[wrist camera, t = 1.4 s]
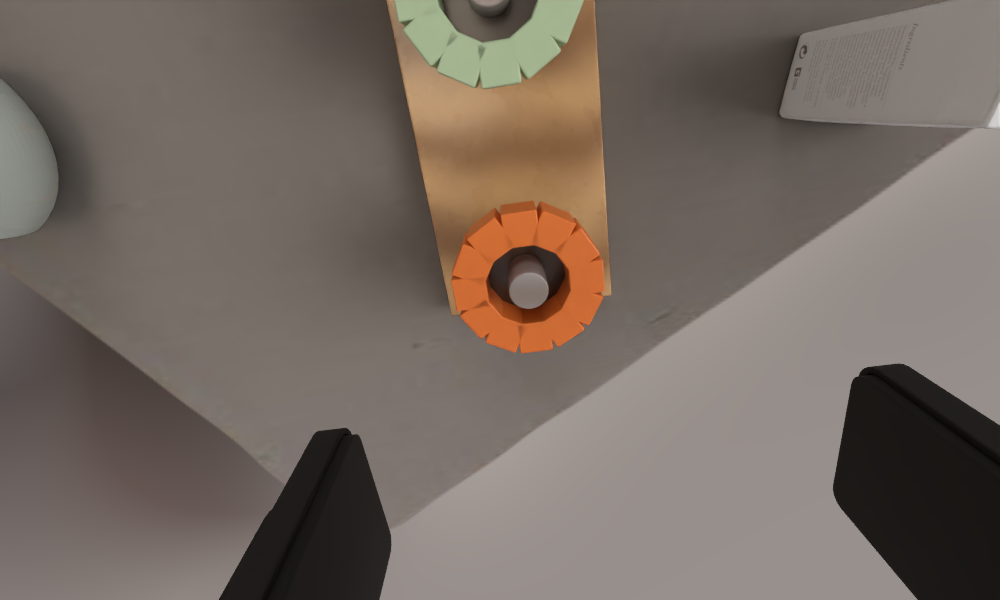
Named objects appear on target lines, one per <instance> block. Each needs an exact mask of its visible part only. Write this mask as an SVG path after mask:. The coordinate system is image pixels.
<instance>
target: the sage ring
mask: <svg viewBox="0 0 1000 600" xmlns="http://www.w3.org/2000/svg"><path fill="white" fill-rule="evenodd" d="M583 2H584V0H537V2H536V5H535V8H534V10H533V13H532V16H531V19H530V20H528V21H527V22H526V23H525V24H524V25H523V26H522V27H521V28H520V29H518V30H517V31H516V32H515V33H514V34H513V35H512V36H511V37H509V38H506V39H500V40H494V41H488V42H480V41H478V40H476V39H474V38H471V37H469V36H467V35H465V34H462V33H460V32H458V31H457V30H456V29H455V28H454V26H453V25H452V23H451V22H450V21H449V19H448V18H447V16H446V15H445V13H444V7H443V1H442V0H394V3H395V8H396V13H397V18H398V21H399V22H400V23H401V24H403V25H404V26H406V27H405V28H404V29H403V32H404V33H405V35H406V36H407V37H408V39H409V40H410V41H411V43H412V44H413V45H414V47H415V48H416V49H417V51H418V52H419V53H420V54H421V56H422V57H423V58H424V60H425V61H426V62H427V64H428V65H429V66H431V67H434V68H437V72H438V73H440V74H442V75H444V76H447V77H449V78H451V79H454V80H456V81H458V82H461V83H463V84H465V85H468V86H470V87H472V88H477V87H478V85H479V82H481V87H482V89H491V88H497V87H503V86H509V85H516V84H519V83H521V81H522V79H521V74H522V76H523V77H524V79H526V80H528V79H530V78H531V77H532V76H533V75H535V74H536V73H537V72H538V71H539V70H540V69H542V68H543V67H544V66H545V65H546V64H547V63H549V62H550V61H551V60H552V59H553V58H554V57H556V56H557V55H558V54H559V53H560V52H561V49H560V48H561V47H562V46H564V45H565V44H566V43H567V42H568V39H569V37H570V34H571V32H572V29H573V27H574V24H575V22H576V19H577V17H578V15H579V12H580V10H581V7H582V5H583Z"/></svg>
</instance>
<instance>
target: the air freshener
mask: <svg viewBox="0 0 1000 600" xmlns="http://www.w3.org/2000/svg"><path fill="white" fill-rule="evenodd" d="M58 180H59V175H58V168H57V161H56V158H55V154H54V151H53V148H52V145H51V143H50V141H49V139H48V136H47V134H46V132H45V130H44V129H43V127H42V125H41V124H40V122H39V120H38V119H37V117H36V116H35V114H34V113H33V112H32V111H31V109H30V108H29V107H28V106H27V104H26V103H25V102H24V101H23V100H22V98H21V97H20V96H19V95H18V94H17V93H16V92H15V91H14V90H13V89H12V88H11V87H10V86H9V85H8V84H6V83H5V82H4V81H3V80H1V79H0V239H4V238H11V237H17V236H22V235H27V234H30V233H33V232H36V231H37V230H39V229H40V227H41V226H42V225H43V224H44V223H45V222H46V220H47V219H48V217H49V215H50V213H51V211H52V210H53V208H54V205H55V201H56V197H57V193H58Z"/></svg>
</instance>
